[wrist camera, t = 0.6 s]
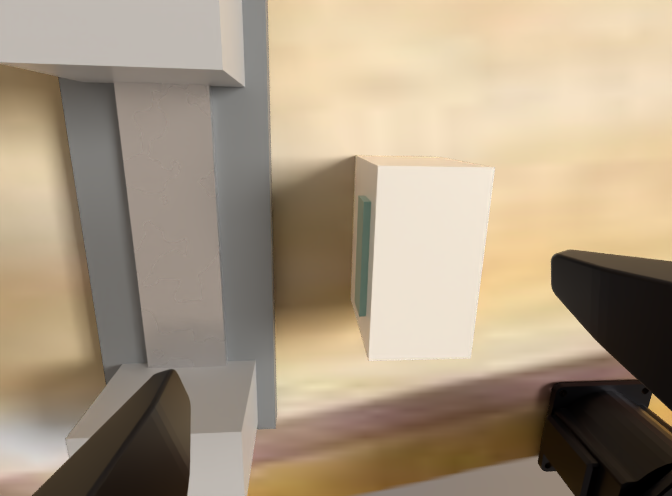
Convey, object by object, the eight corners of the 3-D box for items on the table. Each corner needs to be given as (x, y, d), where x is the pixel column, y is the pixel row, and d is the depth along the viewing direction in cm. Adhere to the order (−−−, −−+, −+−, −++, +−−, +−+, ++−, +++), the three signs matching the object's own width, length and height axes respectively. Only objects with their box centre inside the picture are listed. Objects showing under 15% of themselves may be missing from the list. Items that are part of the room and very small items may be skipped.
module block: (438, 156, 21) (495, 167, 15) (425, 298, 24) (470, 358, 17) (349, 154, 21) (369, 165, 15) (345, 298, 23) (361, 361, 17)
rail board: (267, -16, 18) (248, -95, 12) (276, 414, 25) (268, 514, 18) (57, -27, 18) (-82, -117, 11) (122, 420, 24) (58, 526, 18)
